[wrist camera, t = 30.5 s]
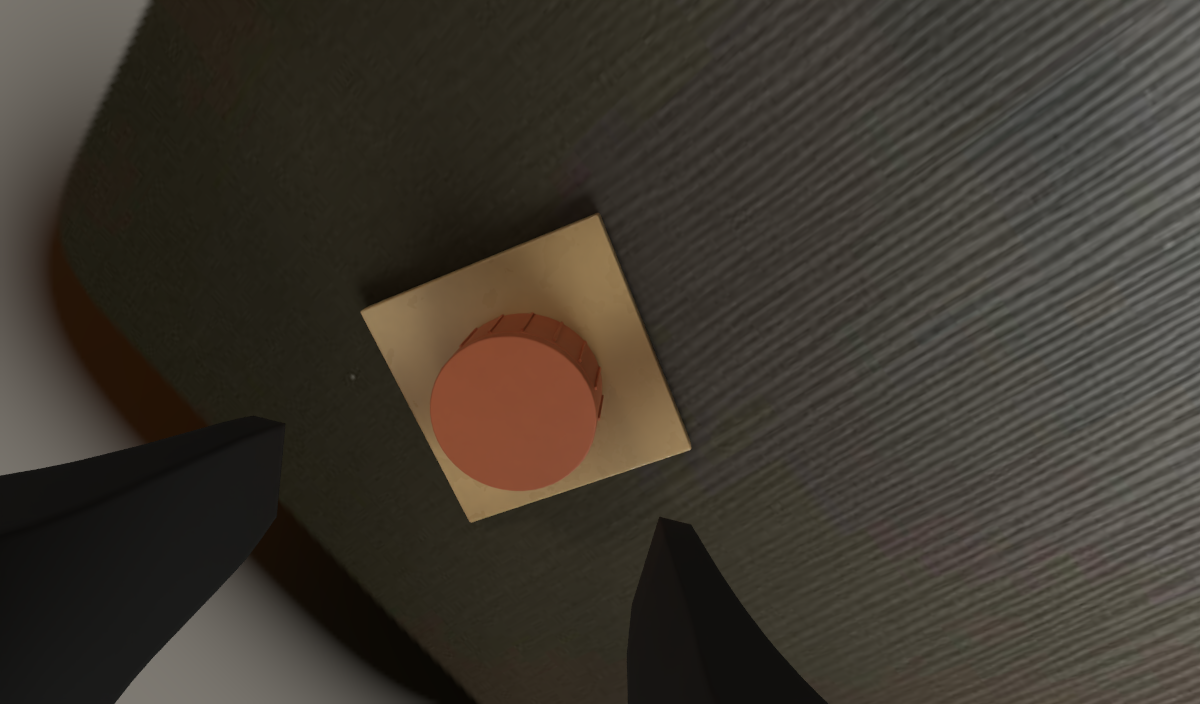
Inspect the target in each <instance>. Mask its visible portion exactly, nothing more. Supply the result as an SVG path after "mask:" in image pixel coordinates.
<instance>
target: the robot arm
mask: <svg viewBox="0 0 1200 704" xmlns="http://www.w3.org/2000/svg"><path fill="white" fill-rule="evenodd" d="M284 434H285V423H281V422H277V421H273V420H268V419H264V418H260V417H256V416H250V417H244V418H240V419H235V420H231V421H227V422H223V423H219V424H216V425H212V426H208V427H205V428H201V429H198V430H194V431H191V432H187V433H184V434H180V435H176V436H173V437H169V438H166V439H162V440H159V441H155V442H151V443H148V444H144V445H140V446H136V447H132V448H128V449H124V450H120V451H116V452H112V453H108V454H104V455H100V456H96V457H92V458H88V459H84V460H79V461H75V462H70V463H66V464H61V465H57V466H51V467H46V468H41V469H36V470H30V471H24V472H19V473H13V474H8V475H1V476H0V704H115V702H116V701H117V700H118V699H119V697H120V696H121V695H122V693H123V692H124V691H125V690H126V688H127V687H128V686H129V685H130V683H131V682H132V681H133V680H134V678H135V677H136V676H137V675H138V674H139V673H140V672H141V671H142V669H143V668H144V667H145V666H146V665H147V663H149V661H150V660H151V659H152V658H153V657H154V656H155V655H156V654H157V653H158V651H160V650H161V649H162V648H163V646H164V645H165V644H166V643H167V642H168V641H169V640H170V639H171V638H172V637H173V636H174V635H175V634H176V633H177V632H178V631H179V630H180V628H182V627H183V625H185V623H186V622H187V621H188V620H189V619H190V618H191V617H192V616H193V615H194V614H195V613H196V612H197V611H198V610H199V609H200V608H201V606H203V605H204V604H205V602H206V601H207V600H208V599H209V598H210V597H211V596H212V595H213V594H214V593H215V592H216V591H217V590H218V589H219V588H220V587H221V585H223V584H224V583H225V581H226V580H227V579H228V578H229V577H230V576H231V575H232V574H233V573H234V572H235V571H236V570H237V569H238V567H239V566H240V565H241V564H242V563H243V562H244V561H245V560H246V558H247V557H248V556H249V554H250V553H251V552H252V550H253V549H254V548H255V546H256V545H257V543H258V542H259V541H260V540H261V538H262V537H263V535H264V534H265V532H266V531H267V529H268V528H269V527H270V525H271V524H272V522H273V521H274V519H275V518H276V517H277V507H278V496H279V486H280V475H281V465H282V455H283V444H284ZM627 680H628V704H828V703H827V702H826V701H825V700H824V699H823V698H822V697H821V696H820V695H819V694H818V693H817V692H816V691H815V690H814V689H813V688H812V687H811V686H810V685H809V684H808V683H807V682H806V681H805V680H804V679H803V678H802V677H801V676H800V675H799V674H798V673H797V671H796V670H795V669H794V668H793V667H792V666H791V665H790V664H789V663H788V661H787V660H786V659H785V658H784V657H783V656H782V655H781V654H780V653H779V652H778V650H777V649H776V648H775V647H774V646H773V644H772V643H771V642H770V641H769V640H768V638H767V637H766V636H765V635H764V633H763V632H762V631H761V629H760V628H759V627H758V625H757V624H756V623H755V621H754V620H753V619H752V618H751V616H750V615H749V614H748V612H747V611H746V610H745V608H744V607H743V605H742V604H741V602H740V601H739V600H738V598H737V597H736V595H735V594H734V592H733V591H732V589H731V588H730V586H729V585H728V583H727V582H726V580H725V579H724V577H723V576H722V574H721V573H720V571H719V570H718V568H717V566H716V565H715V563H714V561H713V560H712V558H711V557H710V555H709V553H708V552H707V550H706V548H705V547H704V545H703V543H702V542H701V540H700V538H699V537H698V535H697V533H696V532H695V530H694V529H693V527H692V525H690V524H686V523H682V522H678V521H674V520H670V519H666V518H662V517H659V520H658V523H657V526H656V529H655V532H654V536H653V539H652V542H651V545H650V548H649V552H648V555H647V558H646V561H645V564H644V568H643V571H642V574H641V577H640V580H639V584H638V587H637V590H636V593H635V596H634V600H633V603H632V609H631V619H630V628H629V638H628V649H627Z"/></svg>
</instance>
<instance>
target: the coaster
mask: <svg viewBox="0 0 1200 704" xmlns="http://www.w3.org/2000/svg"><path fill="white" fill-rule="evenodd" d="M531 312H534V314H538V315H542V316H546V317H549V318H552V319H554V320H557V321H559V322H561V321H562V322H564V323H563V324H564V325H566V326H568V327H569V328H570V329H572V330H573V331H575V332H576V333H577V334H578V335H579V336H580V337H581V338H582V339H583V340H584V341H587V345H588V346H589V348H590V349H591V351H592V353H593V354H594V356H595V358H596V361H597V363H598V366H599V367H601V378H602V395H604V398H603V404H602V410H601V416H600V421H597V427H596V432H595V436H594V440H593V443H592V445H591V448H590V450H589V452H588V453H587V455H586V457H585V458H584V460H583V461H582V462H581V463H580V465H579V466H578V467H577V468H576V469H575V470H574V471H573V472H572V473H571V474H569V475H568V476H566V477H565V478H563V479H562V480H560V481H558V482H556V483H554V484H552V485H549V486H547V487H544V488H540V489H536V490H529V491H509V490H501V489H497V488H493V487H490V486H488V485H485V484H482V483H480V482H478V481H476V480H474V479H472V478H471V477H469V476H468V475H466V474H465V473H463V472H462V471H461V470H460V469H459V468H458V467H456V466H455V465H454V464H453V463H452V461H451V460H450V459H449V458H448V457H447V456H446V454H445V453H444V451H443V450H442V448H441V446H440V445H439V443H438V441H437V439H436V436H435V434H434V431H433V427H432V423H431V417H430V399H431V393H432V389H433V386H434V383H435V380H436V378H437V376H438V374H439V372H440V370H441V368H442V367H443V366H444V364H445V363H446V362H447V361H448V360H449V359H450V358H451V357H452V356H453V354H454V353H455V352H456V351H457V350H458V349H459V348H460V347H459V345H460V344H461V343H462V342H463V341H464V340H465V339H466V338H467V337H468V336H469V334H470V333H471V332H472V331H473V330H474V329H475V328H476V327H477V328H480V327H481V326H482V325H484V324H486V323H487V322H489V321H491V320H493V319H496V318H498V317H499V316H500V315H502V314H503V315H504V316H505V315H510V314H517V313H529V314H530V313H531ZM361 314H362V316H363V318H364V320H365V322H366V324H367V326H368V328H369V330H370V332H371V334H372V336H373V337H374V339H375V341H376V343H377V345H378V347H379V349H380V351H381V353H382V355H383V357H384V359H385V361H386V362H387V364H388V366H389V368H390V370H391V372H392V374H393V376H394V378H395V380H396V382H397V384H398V385H399V387H400V389H401V391H402V393H403V395H404V397H405V399H406V401H407V403H408V405H409V407H410V409H411V410H412V412H413V414H414V416H415V418H416V420H417V422H418V424H419V426H420V428H421V430H422V432H423V434H424V435H425V437H426V439H427V441H428V443H429V445H430V447H431V449H432V451H433V453H434V455H435V457H436V458H437V460H438V462H439V464H440V466H441V468H442V470H443V472H444V474H445V476H446V478H447V480H448V482H449V483H450V485H451V487H452V489H453V491H454V493H455V495H456V497H457V499H458V501H459V503H460V505H461V506H462V508H463V510H464V512H465V514H466V516H467V518H468V520H469V522H474V521H477V520H480V519H483V518H486V517H489V516H492V515H495V514H498V513H501V512H504V511H507V510H511V509H514V508H517V507H520V506H523V505H526V504H529V503H532V502H535V501H538V500H541V499H544V498H547V497H550V496H553V495H556V494H559V493H562V492H565V491H568V490H571V489H574V488H577V487H580V486H583V485H586V484H589V483H592V482H595V481H598V480H601V479H604V478H607V477H610V476H613V475H616V474H619V473H622V472H625V471H628V470H631V469H634V468H637V467H640V466H643V465H646V464H649V463H652V462H655V461H658V460H662V459H665V458H668V457H671V456H674V455H677V454H680V453H683V452H686V451H689V450H691V441H690V438H689V436H688V433H687V431H686V428H685V426H684V423H683V421H682V418H681V416H680V413H679V411H678V408H677V406H676V403H675V401H674V398H673V396H672V393H671V391H670V388H669V386H668V383H667V381H666V378H665V376H664V373H663V371H662V368H661V366H660V363H659V361H658V358H657V356H656V353H655V351H654V348H653V346H652V343H651V341H650V338H649V336H648V333H647V331H646V328H645V326H644V323H643V321H642V318H641V316H640V313H639V311H638V308H637V306H636V303H635V301H634V298H633V296H632V293H631V291H630V288H629V286H628V283H627V281H626V278H625V276H624V273H623V271H622V268H621V266H620V263H619V260H618V258H617V255H616V253H615V250H614V248H613V245H612V243H611V240H610V238H609V235H608V233H607V230H606V228H605V225H604V223H603V220H602V218H601V215H600V214H599V213H596V214H593V215H591V216H588V217H586V218H583V219H581V220H578V221H576V222H573V223H571V224H569V225H566V226H564V227H561V228H559V229H556V230H554V231H551V232H549V233H547V234H544V235H542V236H539V237H537V238H534V239H532V240H529V241H527V242H524V243H522V244H520V245H517V246H515V247H512V248H510V249H507V250H505V251H502V252H500V253H498V254H495V255H493V256H490V257H488V258H485V259H483V260H480V261H478V262H475V263H473V264H471V265H468V266H466V267H463V268H461V269H458V270H456V271H453V272H451V273H448V274H446V275H444V276H441V277H439V278H436V279H434V280H431V281H429V282H426V283H424V284H422V285H419V286H417V287H414V288H412V289H409V290H407V291H404V292H402V293H399V294H397V295H395V296H392V297H390V298H387V299H385V300H382V301H380V302H377V303H375V304H373V305H370V306H368V307H366V308H364V309H363V310H361Z"/></svg>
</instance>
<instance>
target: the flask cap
mask: <svg viewBox="0 0 1200 704" xmlns="http://www.w3.org/2000/svg"><path fill="white" fill-rule="evenodd" d="M563 323H564V322H562V321H561V322H559V321H557V320H554V319H552V318H549V317H546V316H542V315H538V314H534V312H531V313H530V314H529V313H517V314H510V315H505V316H504V315H503V314H502V315H500V316H499V317H498V318H496V319H493V320H491V321H489V322H487V323H486V324H484V325H482V326H481V327H480V328H477V327H476V328H475V329H474V330H473V331H472V332H471V333H470V334H469V336H468V337H467V338H466V339H465V340H464V341H463V342H462V343H461V344H460V345H459V347H460V348H459V349H458V350H457V351H456V352H455V353H454V354H453V356H452V357H451V358H450V359H449V360H448V361H447V362H446V363H445V364H444V366H443V367H442V368H441V370H440V372H439V374H438V376H437V378H436V380H435V383H434V386H433V389H432V393H431V399H430V417H431V423H432V427H433V431H434V434H435V436H436V439H437V441H438V443H439V445H440V446H441V448H442V450H443V451H444V453H445V454H446V456H447V457H448V458H449V459H450V460H451V461H452V463H453V464H454V465H455V466H456V467H458V468H459V469H460V470H461V471H462V472H463V473H465V474H466V475H468V476H469V477H471V478H472V479H474V480H476V481H478V482H480V483H482V484H485V485H488V486H490V487H493V488H497V489H501V490H509V491H529V490H536V489H540V488H544V487H547V486H549V485H552V484H554V483H556V482H558V481H560V480H562V479H563V478H565V477H566V476H568V475H569V474H571V473H572V472H573V471H574V470H575V469H576V468H577V467H578V466H579V465H580V463H581V462H582V461H583V460H584V458H585V457H586V455H587V453H588V452H589V450H590V448H591V445H592V443H593V440H594V436H595V432H596V427H597V421H600V416H601V410H602V404H603V398H604V395H602V378H601V367H599V366H598V363H597V361H596V358H595V356H594V354H593V353H592V351H591V349H590V348H589V346H588V345H587V341H584V340H583V339H582V338H581V337H580V336H579V335H578V334H577V333H576V332H575V331H573V330H572V329H570V328H569V327H568V326H566V325H564V324H563Z"/></svg>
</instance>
